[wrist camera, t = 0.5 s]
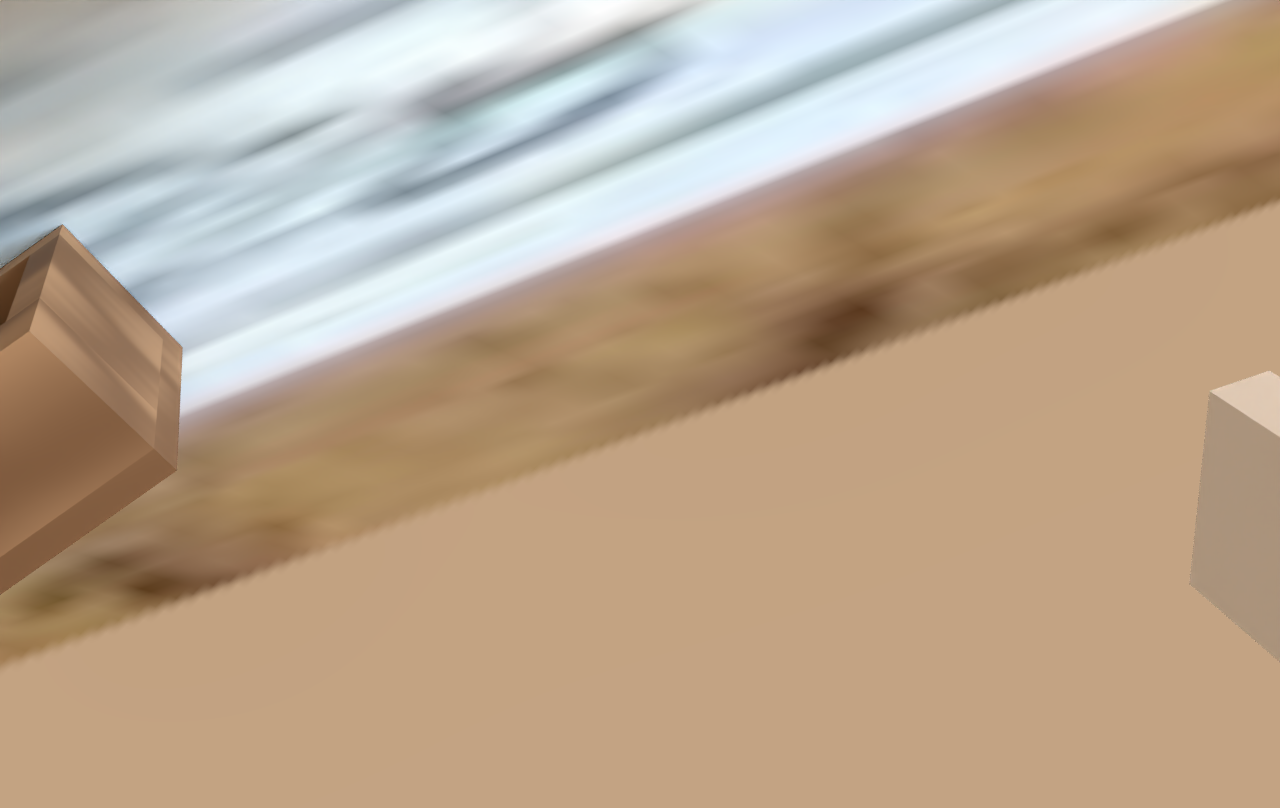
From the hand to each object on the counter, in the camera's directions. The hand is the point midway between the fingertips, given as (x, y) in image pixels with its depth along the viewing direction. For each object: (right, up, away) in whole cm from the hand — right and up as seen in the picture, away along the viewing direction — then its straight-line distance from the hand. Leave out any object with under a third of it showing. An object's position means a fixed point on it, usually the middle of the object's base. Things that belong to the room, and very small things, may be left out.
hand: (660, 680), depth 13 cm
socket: (-18, +4, +22) cm, 29 cm away
